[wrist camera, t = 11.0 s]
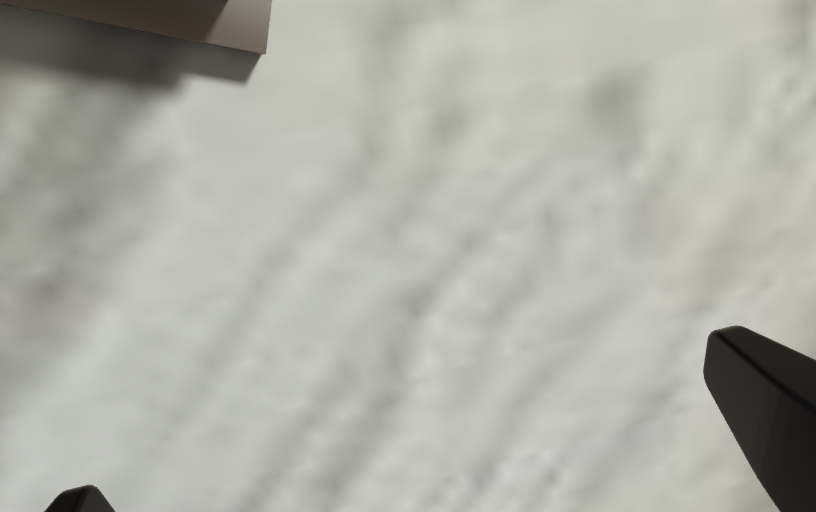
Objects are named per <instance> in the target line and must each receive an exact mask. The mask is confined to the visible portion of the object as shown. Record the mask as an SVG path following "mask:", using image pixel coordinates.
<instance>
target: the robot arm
mask: <svg viewBox="0 0 816 512" xmlns="http://www.w3.org/2000/svg"><path fill="white" fill-rule="evenodd" d="M703 373H704V379H705V382H706V385H707V387H708V389H709V391H710V393H711V395H712V396H713V398H714V400H715V402H716V404H717V406H718V407H719V409H720V411H721V413H722V415H723V417H724V418H725V420H726V422H727V424H728V426H729V428H730V429H731V431H732V433H733V435H734V437H735V439H736V440H737V442H738V444H739V446H740V448H741V449H742V451H743V453H744V455H745V457H746V459H747V460H748V462H749V464H750V466H751V468H752V469H753V471H754V473H755V474H756V476H757V478H758V479H759V481H760V482H761V484H762V486H763V487H764V489H765V490H766V492H767V493H768V495H769V496H770V498H771V499H772V500H773V502H774V503H775V505H776V506H777V508H778V509H779V511H780V512H816V360H815V359H812V358H810V357H808V356H806V355H804V354H802V353H799V352H797V351H795V350H793V349H791V348H789V347H786V346H784V345H782V344H780V343H778V342H775V341H773V340H771V339H769V338H767V337H765V336H762V335H760V334H758V333H756V332H754V331H752V330H749V329H747V328H745V327H742V326H731V327H727V328H723V329H718V330H715V331H713V332H711V333H710V335H709V336H708V341H707V348H706V355H705V362H704V369H703ZM44 512H115V510H114V509H113V508H112V506H111V505H110V504H109V502H108V501H107V500H106V498H105V497H104V496H103V494H102V493H101V492H100V490H99V489H98V488H97V487H95V486H93V485H86V486H82V487H78V488H73V489H69V490H66V491H64V492H62V493H61V494H59V495H58V496H57V497H56V498H55V499H54V501H53V502H52V503H51V504H50V505H49V507H48V508H47V509H46V510H45V511H44Z"/></svg>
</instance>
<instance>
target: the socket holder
mask: <svg viewBox="0 0 816 512" xmlns="http://www.w3.org/2000/svg"><path fill="white" fill-rule="evenodd" d="M271 3H272V0H0V4H6V5H11V6H16V7H21V8H26V9H31V10H36V11H42V12H47V13H52V14H57V15H62V16H67V17H72V18H77V19H83V20H88V21H93V22H98V23H103V24H108V25H113V26H118V27H124V28H129V29H134V30H139V31H144V32H149V33H154V34H160V35H165V36H170V37H175V38H180V39H185V40H190V41H195V42H201V43H206V44H211V45H216V46H221V47H226V48H231V49H237V50H242V51H247V52H252V53H257V54H266V47H267V38H268V29H269V21H270V12H271Z"/></svg>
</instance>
